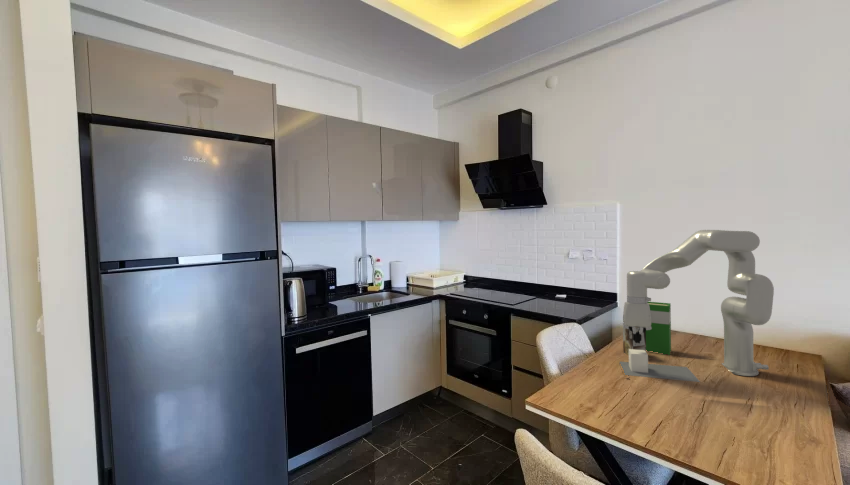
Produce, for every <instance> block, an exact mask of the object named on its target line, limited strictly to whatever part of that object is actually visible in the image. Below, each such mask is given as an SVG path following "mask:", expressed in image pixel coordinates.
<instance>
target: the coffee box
mask: <svg viewBox="0 0 850 485" xmlns="http://www.w3.org/2000/svg"><path fill="white" fill-rule="evenodd" d="M623 324H624V322H622V325H623ZM638 328H639V327H635V329H636V332H637V331H638ZM622 343H623V349H622V350H623V351H622V352H623V354H624V353H625V354H626V355H627V356H629V349H635V350H645V351H646V331H644V332H643V333H642V334H641V341H640V343H635V341H634V340H633V332H632V331H631V330H629V329H626V328H624V327H623V326H622ZM625 354H624V355H625Z"/></svg>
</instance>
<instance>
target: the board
mask: <svg viewBox="0 0 850 485" xmlns="http://www.w3.org/2000/svg"><path fill="white" fill-rule="evenodd" d="M620 364H621V366H622V368H623V370H624V373H625V375H628V376H629V377H630V376H632V377H643V378H653V379H654V378H655V379H663V380H675V381H682V382H683V381H685V382H696V383H701V381H700V380H699V379H698V377H697V376H695V374H694V373H693V372H692V370H690V368H688V367H687V366H681V365H680V366H679V365H667V364H655V363H654V364H653V363H648V373H645V372H634V371H631V369H630V367H629V361H619V365H620Z"/></svg>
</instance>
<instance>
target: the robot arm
mask: <svg viewBox="0 0 850 485" xmlns="http://www.w3.org/2000/svg"><path fill="white" fill-rule="evenodd" d="M760 242H761V241H760V237H759V236H758V234H756V233H755V232H753V231H747V230H725V229H724V230H723V229H722V230H721V229H701V230H698V231H697V230H696V231H695V232H694V233H693V234H691V235H690V236H689V237H688V238H686V240H684V241H683V242H682V243H681V244H679V245H678V246H677V247H676V248H674V249H673V250H671V251H669V252H667V253H665V254H663V255H661V256H659V257H657V258H655V259H653V260H652V261H650V262H649V263H648V264H646V265H645V266H644V267H643V268H641V270H632V271H628V272H627V274H626V301H625V302H624V304H623V305H624V306H623V316H622V328H623V327H624V328H626V329H629V330H631V331H632V332H633V340H634V341H635V343H640V341H641V334H642V333H643V332H644V331H646V330H651V329H652V328H651V313H650V307H649V304H648V302H652V298H651V297H648V289H655V290H665V288H668V287H669V286H670V283H671V278H670V276H669V275H668V274H667V273H668V272H670V271H673V270H676V269H681V268H685V267H688V266H691V265H692V264H693V263H695V262H696V261H697V260H698V259H699V258H701V256H703V255H704V254H705V253H707V252H708V251H717V252H724V253H725V255H726V256H727V259H728V271H727V282H726V283H727V286H726V287H727V288H728V290H729V291H730V292H731V293H734V294H737V295H741V296H746V298H745V297H741V296H729V297H726V298H724V299H723V300H722V302H721V304H720V311H721V312H720V313H721V316H722V320H723V362H722V363H721V365H722V366H724V368H726V370H728V371H729V372H731V373H732V374H733V375H736V376H737V375H738V376H742V377H743V376H744V377H755V376H759V371H760V370H766V371H768V370H769V365H768V364H762V363H761V362H755V361H754V328H753V326H764V325H765V324H767V323H768V322H769V321H770V319H771V316H772V312H773V302H774V295H775V291H774V290H775V289H774V287H775V286H774V285H773V282H772V280H771V279H770V278H769V277H767V276H765V275H763V274H758V273H756V259H755V256H754V255H755V254H753V251H755V250H756V249H757V248H758V247H759V246H760ZM623 323H624V324H623ZM635 327H639V328H638V331H637V332H636V329H635Z"/></svg>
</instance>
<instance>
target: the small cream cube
mask: <svg viewBox="0 0 850 485" xmlns="http://www.w3.org/2000/svg"><path fill="white" fill-rule="evenodd" d="M628 362H629V367H630V369H631V371H634V372H645V373H648V364H649V354H648V353H647V352H646V351H645V350H635V349H629V355H628Z"/></svg>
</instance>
